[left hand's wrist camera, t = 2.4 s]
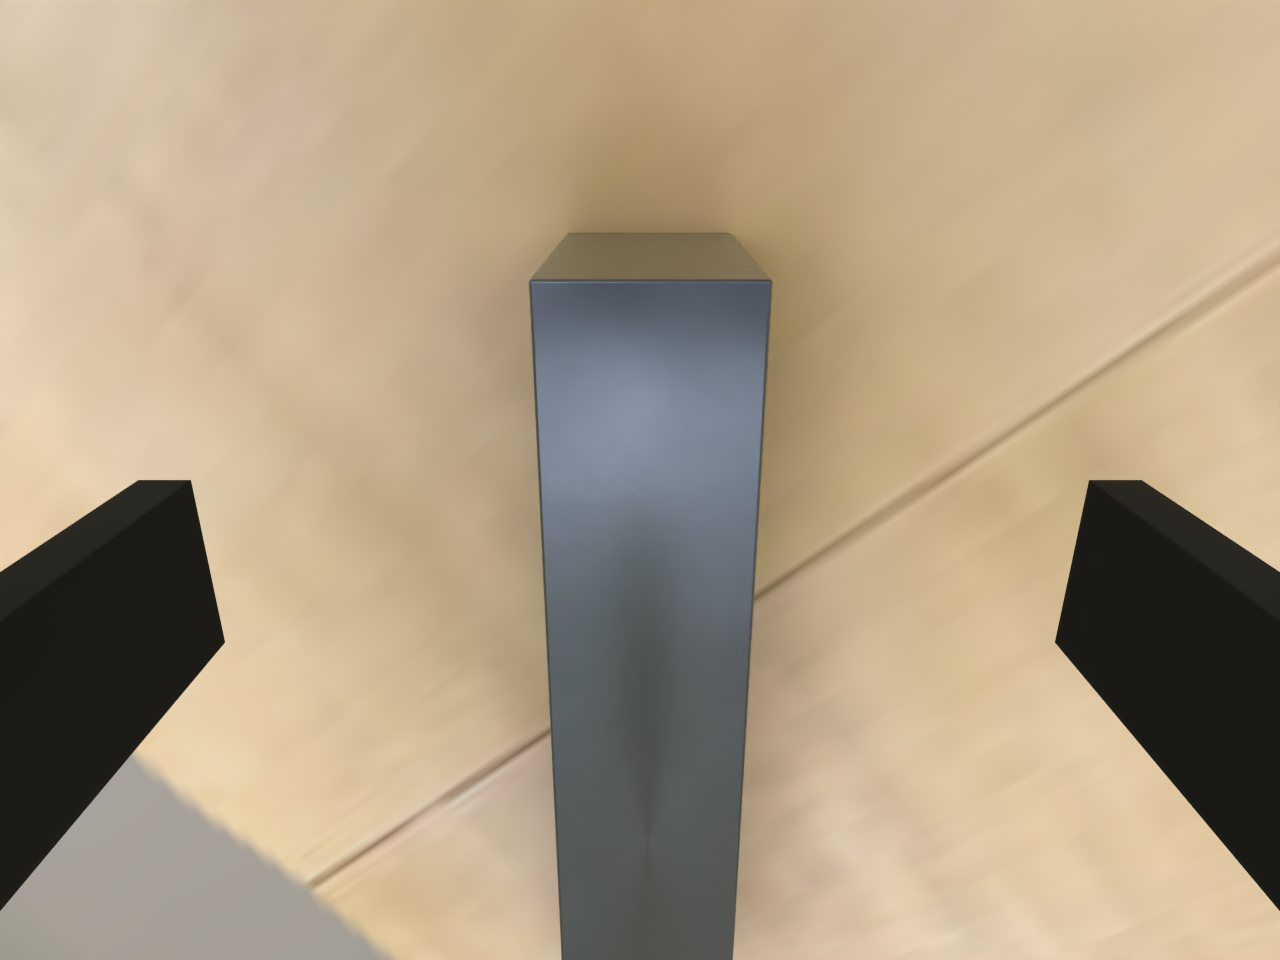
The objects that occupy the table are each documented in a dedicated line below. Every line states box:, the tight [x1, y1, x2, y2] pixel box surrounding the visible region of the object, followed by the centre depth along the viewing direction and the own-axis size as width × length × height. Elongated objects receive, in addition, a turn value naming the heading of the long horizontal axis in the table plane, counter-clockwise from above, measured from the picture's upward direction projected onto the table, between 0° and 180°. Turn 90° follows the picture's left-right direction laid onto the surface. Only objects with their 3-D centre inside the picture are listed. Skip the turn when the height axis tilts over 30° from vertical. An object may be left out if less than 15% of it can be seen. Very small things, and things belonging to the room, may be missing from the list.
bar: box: [529, 233, 772, 960], centre depth 25 cm, size 27×4×8 cm, turn 0°
